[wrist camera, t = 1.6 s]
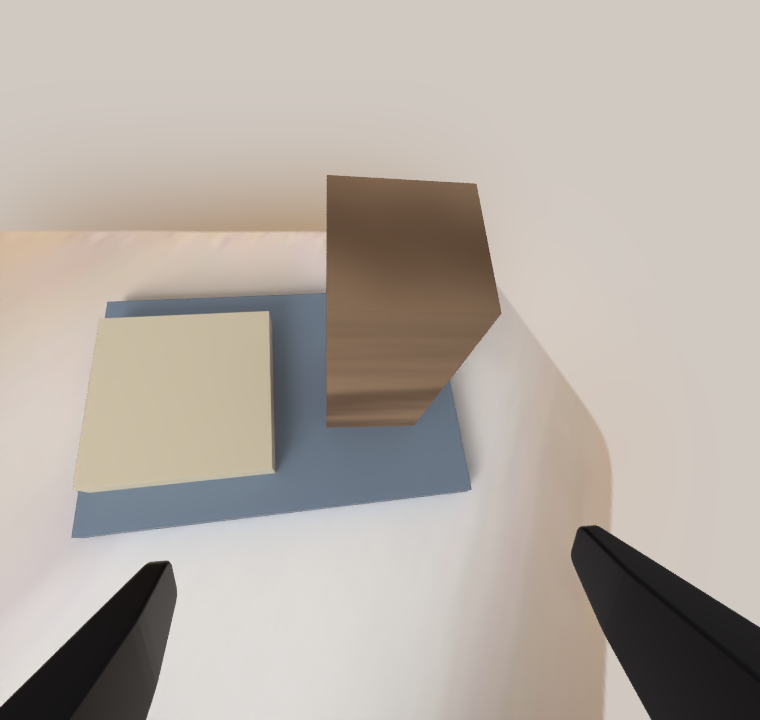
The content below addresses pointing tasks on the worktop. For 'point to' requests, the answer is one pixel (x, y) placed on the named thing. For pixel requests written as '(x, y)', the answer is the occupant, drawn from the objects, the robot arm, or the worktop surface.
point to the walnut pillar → (401, 295)
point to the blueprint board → (298, 439)
